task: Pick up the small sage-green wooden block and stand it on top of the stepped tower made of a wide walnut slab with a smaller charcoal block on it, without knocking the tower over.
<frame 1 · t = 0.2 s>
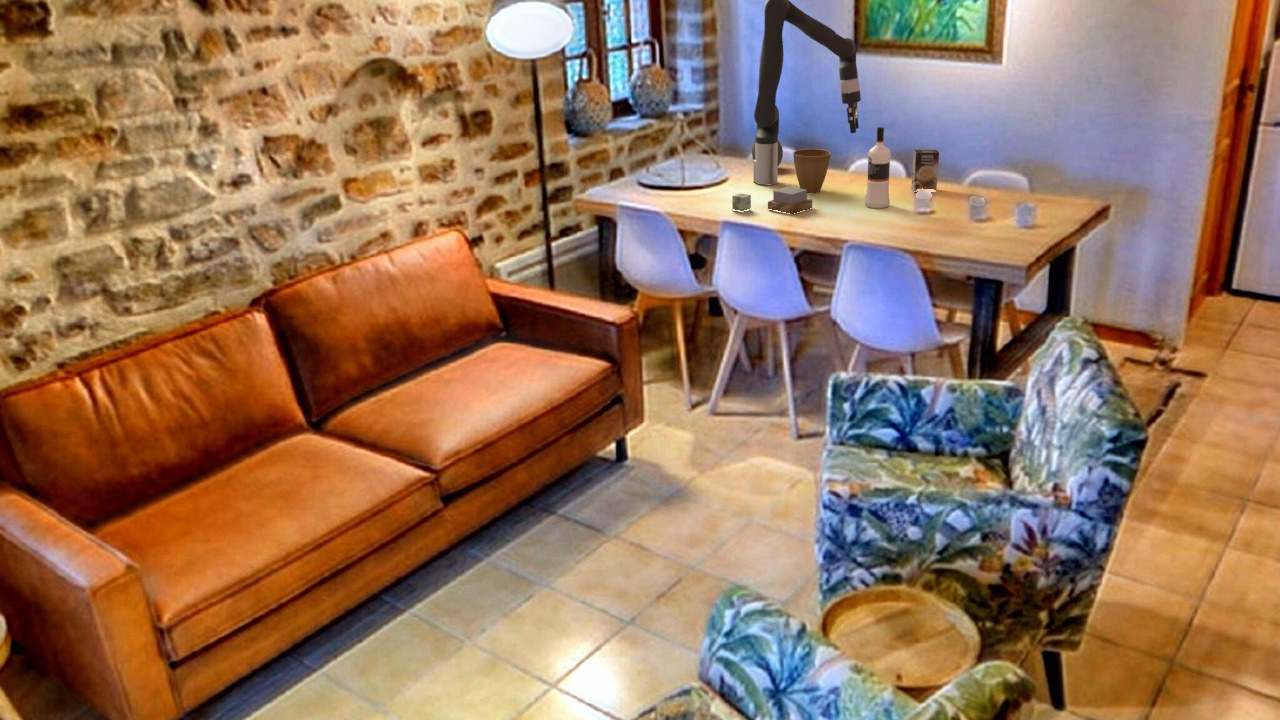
hand: (854, 130, 431), 22 cm above the table, tool pointing down, fingers open, 8 cm apart
tower lower block: (789, 210, 410), on the table, touching tower upper block
sage block: (741, 210, 411), on the table
coffee box: (923, 191, 426), on the table
plant pot: (811, 192, 434), on the table
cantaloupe: (766, 170, 472), on the table
vodka: (877, 206, 408), on the table
tower upper block: (790, 200, 408), point 3 cm above the table, touching tower lower block
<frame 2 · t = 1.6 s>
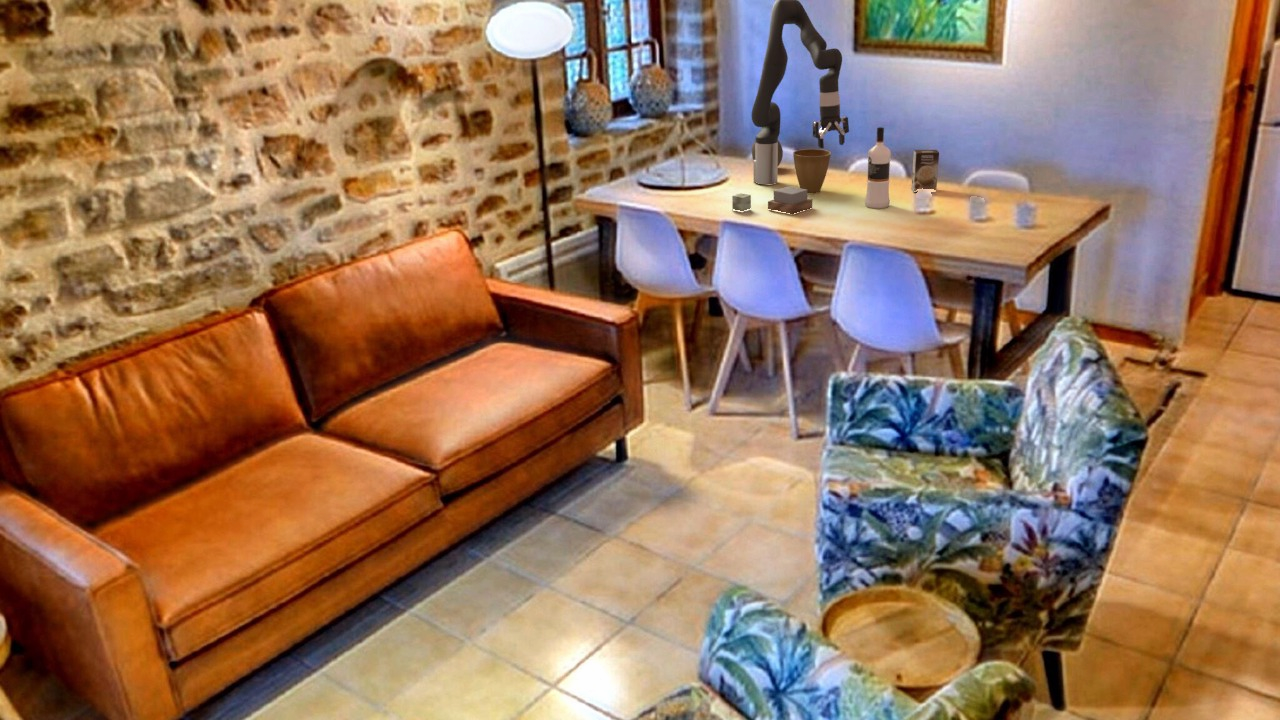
hand: (831, 146, 410), 21 cm above the table, tool pointing down, fingers open, 8 cm apart
nothing on the table moved.
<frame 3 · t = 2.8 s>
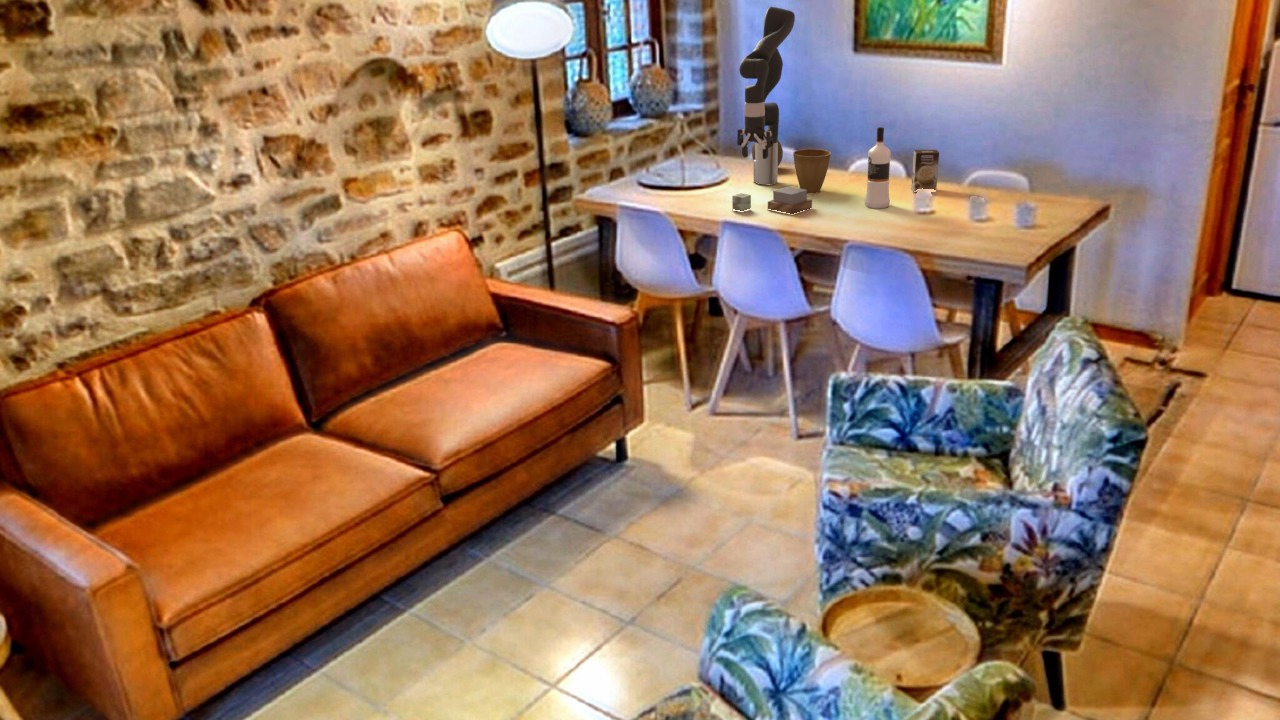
hand: (755, 157, 403), 20 cm above the table, tool pointing down, fingers open, 8 cm apart
nothing on the table moved.
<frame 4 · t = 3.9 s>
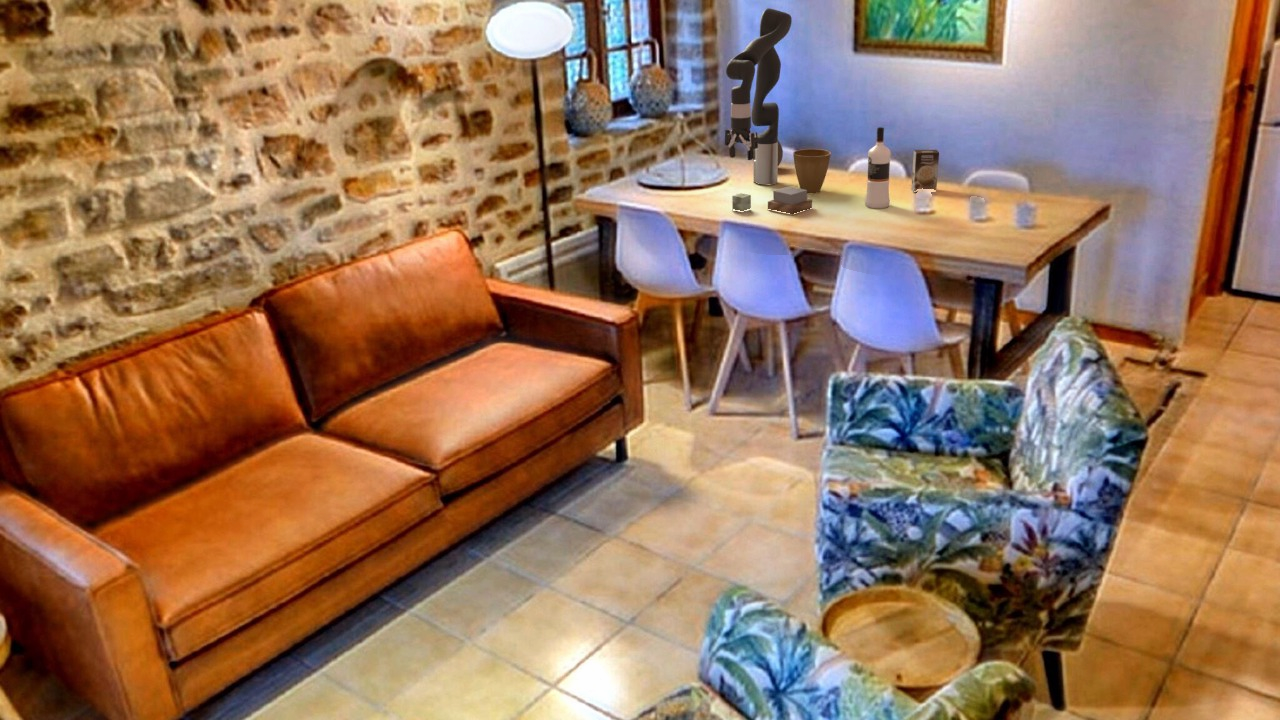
hand: (741, 158, 403), 20 cm above the table, tool pointing down, fingers open, 8 cm apart
nothing on the table moved.
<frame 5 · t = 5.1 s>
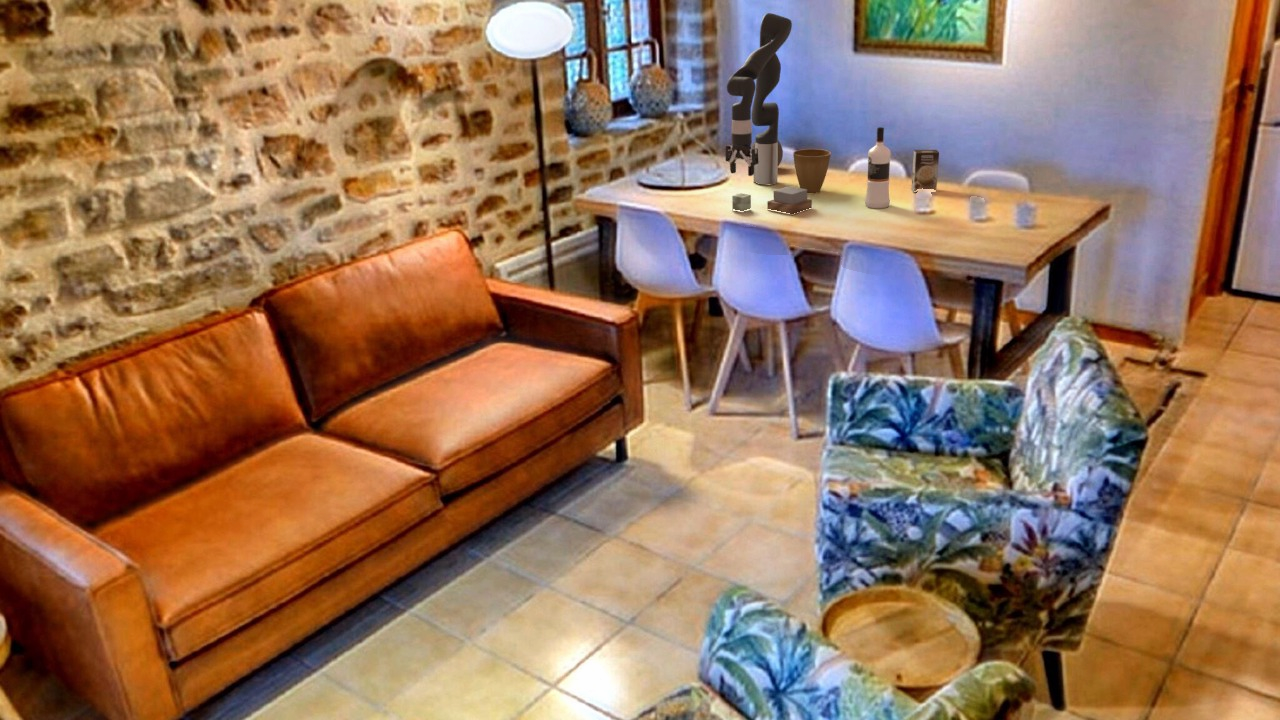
hand: (742, 174, 406), 14 cm above the table, tool pointing down, fingers open, 8 cm apart
nothing on the table moved.
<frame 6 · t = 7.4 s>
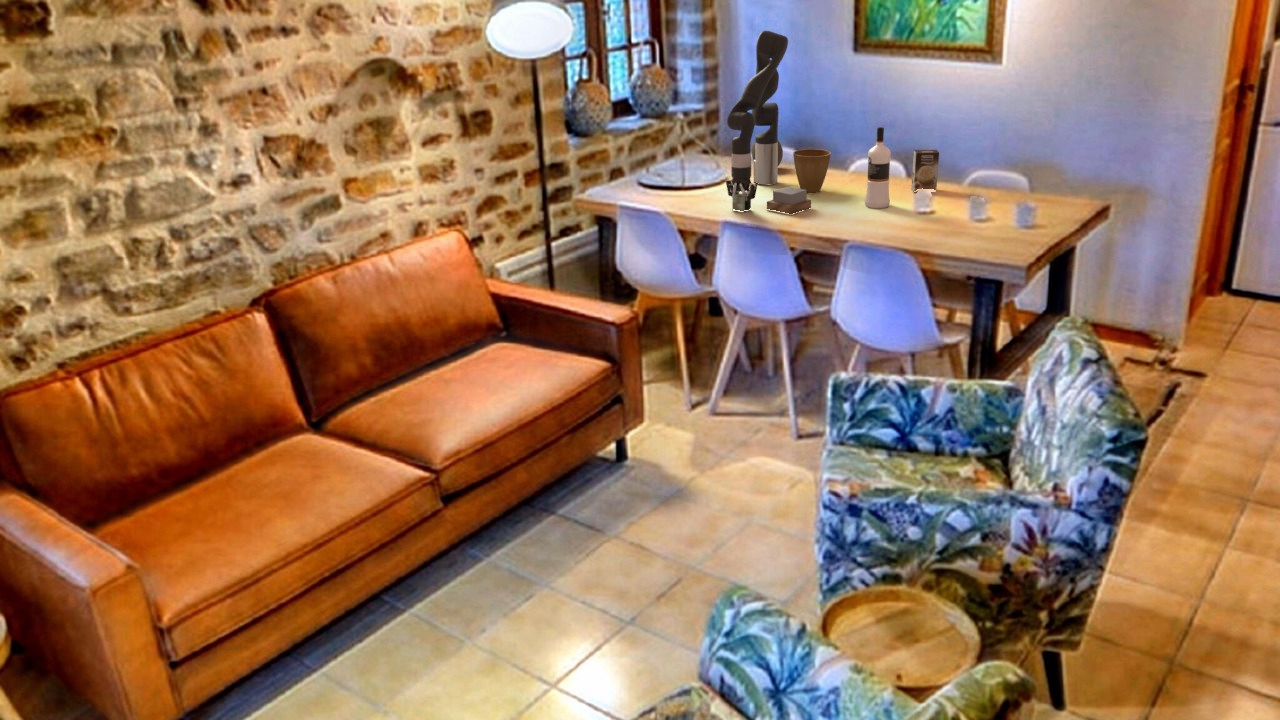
hand: (741, 208, 411), 1 cm above the table, tool pointing down, fingers closed on sage block, 5 cm apart
sage block: (741, 210, 411), on the table, touching gripper
everything else where it was.
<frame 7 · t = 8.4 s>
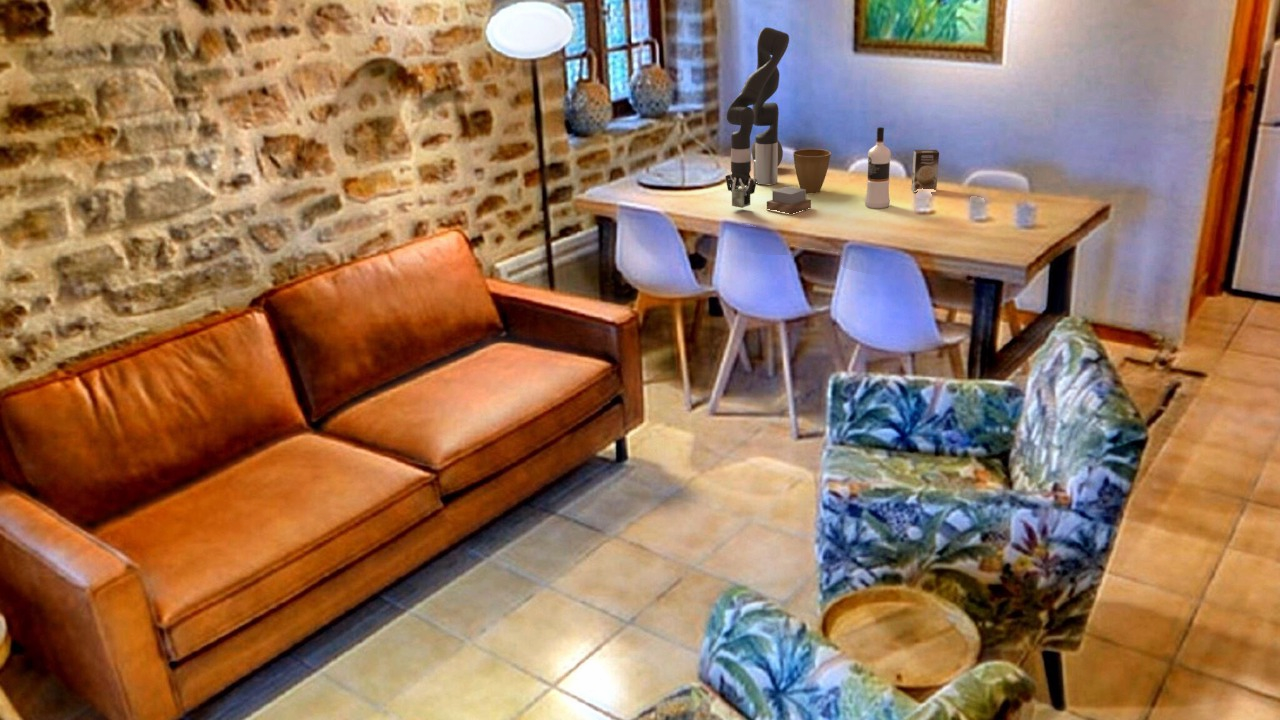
hand: (741, 203, 410), 3 cm above the table, tool pointing down, fingers closed on sage block, 5 cm apart
sage block: (741, 205, 411), point 2 cm above the table, touching gripper
everything else where it was.
when the fingers open (10 cm above the table, at t = 14.6 s): sage block drops 2 cm, resting on tower upper block.
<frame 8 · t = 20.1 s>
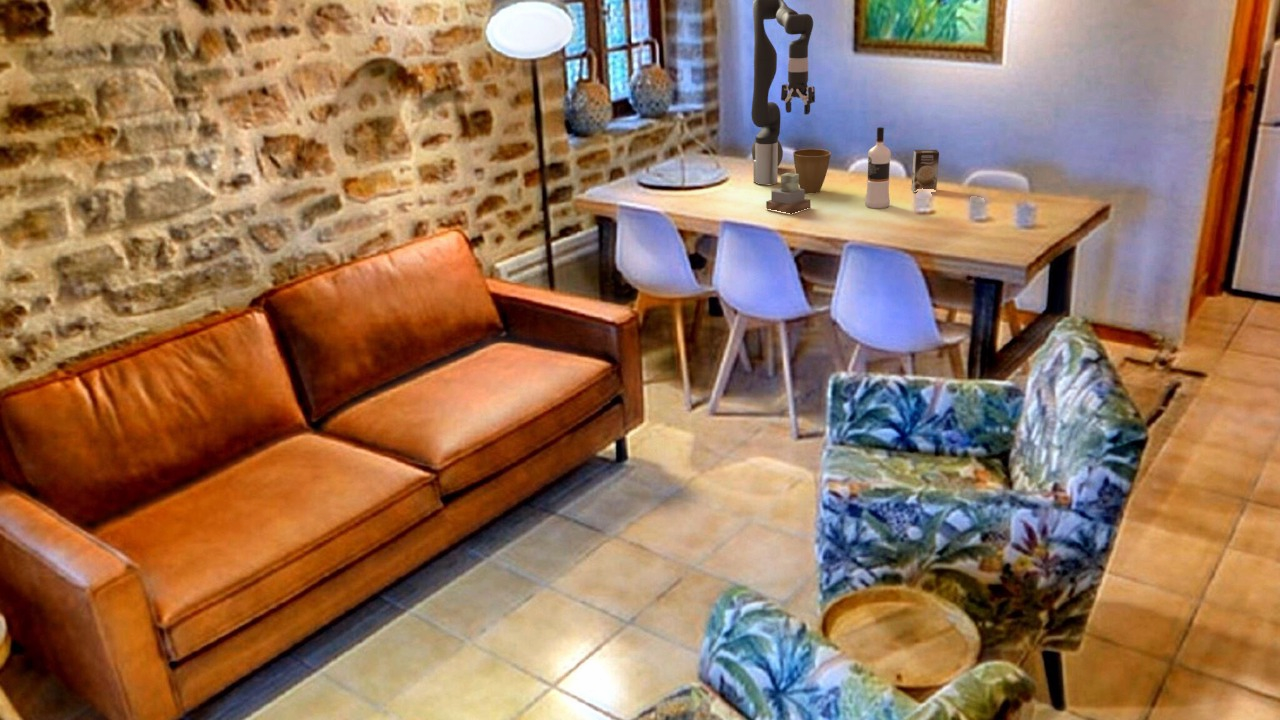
hand: (797, 113, 408), 34 cm above the table, tool pointing down, fingers open, 8 cm apart
sage block: (789, 190, 407), point 7 cm above the table, touching tower upper block
tower upper block: (788, 200, 409), point 3 cm above the table, touching sage block, tower lower block
everything else where it was.
at the end: sage block 0.6 cm off-centre on the tower upper block, point 4.0 cm above the tower upper block's base; tower upper block 0.2 cm off-centre on the tower lower block, point 4.0 cm above the tower lower block's base; sage block tilted 1° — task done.
